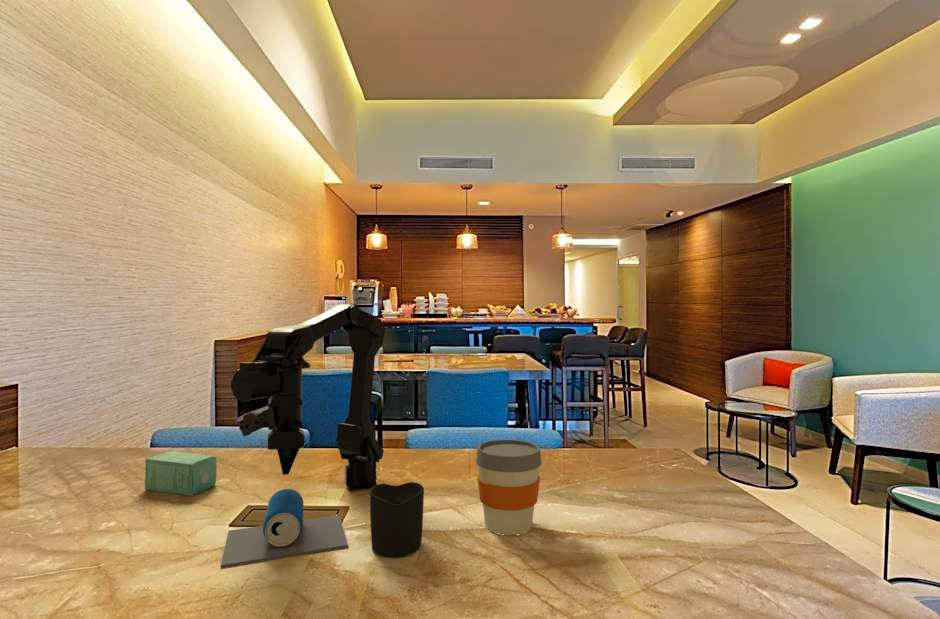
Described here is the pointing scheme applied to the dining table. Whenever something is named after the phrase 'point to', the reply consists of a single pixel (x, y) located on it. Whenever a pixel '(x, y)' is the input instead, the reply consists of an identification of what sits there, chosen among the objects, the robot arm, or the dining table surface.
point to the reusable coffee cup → (508, 484)
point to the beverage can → (283, 517)
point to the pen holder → (396, 519)
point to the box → (180, 473)
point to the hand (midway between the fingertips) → (285, 474)
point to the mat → (256, 548)
